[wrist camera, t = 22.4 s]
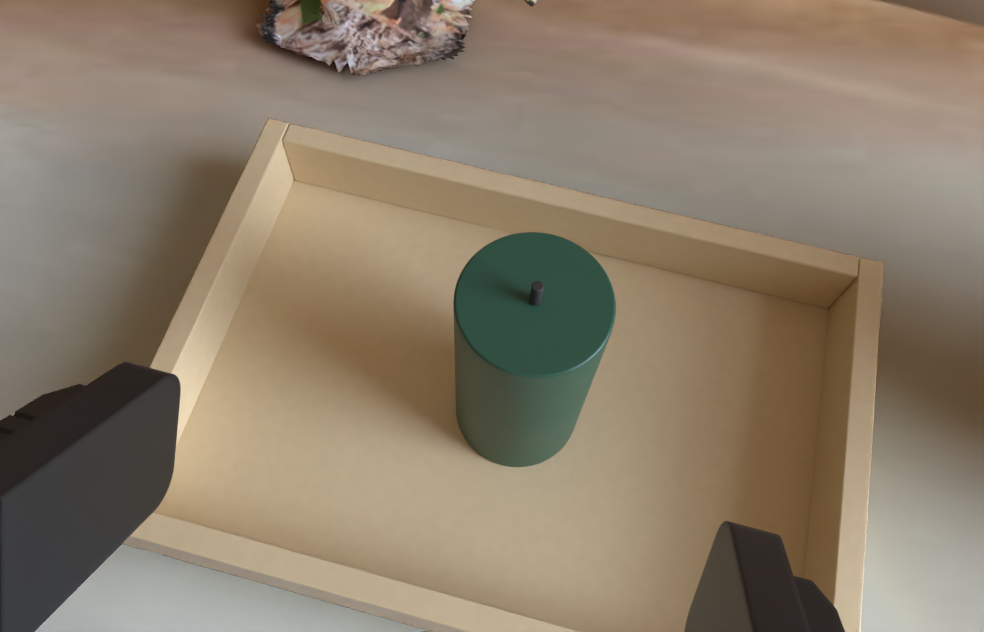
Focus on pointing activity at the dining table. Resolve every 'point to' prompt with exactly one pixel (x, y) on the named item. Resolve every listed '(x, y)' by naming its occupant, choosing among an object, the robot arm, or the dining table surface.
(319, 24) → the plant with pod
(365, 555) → the wooden tray
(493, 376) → the green candle
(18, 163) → the dining table surface
